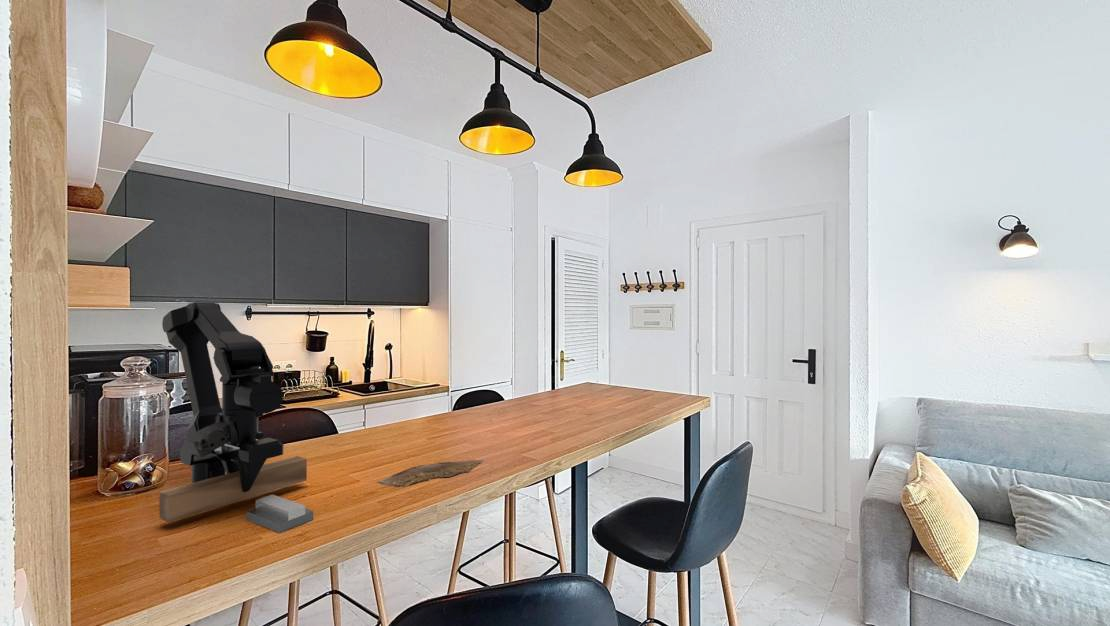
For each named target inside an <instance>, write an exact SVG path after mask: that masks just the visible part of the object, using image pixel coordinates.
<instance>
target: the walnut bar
mask: <svg viewBox="0 0 1110 626" xmlns="http://www.w3.org/2000/svg"><path fill="white" fill-rule="evenodd" d="M307 462H308V460H307V458H305V457H301V456H298V455H296V456H292V457H289V458H284V459H281V460H277V461H272V462H269V463H264V464H263V466H262V468H261V469H260V471H259V473H258V475H257V477H256V479H255V481H254V483H253V485H252V487H251V489H250V490H249V491H247V492H243V491H242V486H241V480H240V472H239V471H237V472H233V473H229V474H225V475H222V476H218V477H214V478H210V479H206V480H202V481H198V482H194V483H192V482H191V483H187V484H184V485H180V486H176V487H172V488H171V487H170V488H168V489H164V490H161V491H159V492H158V494H159V496H158V497H159V501H158V502H159V511H158V512H159V519H161V520H163V521H164V522H166V523H172V522H175V521H178V520H181V519H184V518H188V517H191V516H194V515H198V514H201V513H204V512H207V511H212V510H215V509H217V508H221V507H224V506H227V505H230V504H233V503H238V502H240V501H244V500H247V499H251V498H254V497H257V496H260V495H263V494H266V493H270V492H273V491H277V490H279V489H283V488H286V487H290V486H292V485H296V484H300V483H302V482H303V483H304V482H306V481H307V480H308V479H307V477H308V476H307V475H308V474H307V473H308V472H307V471H308V467H307V466H308V465H307Z"/></svg>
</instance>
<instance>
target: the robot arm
mask: <svg viewBox="0 0 1110 626" xmlns="http://www.w3.org/2000/svg"><path fill="white" fill-rule="evenodd" d="M161 325H162V330H163V332H164V333H166V337H167V341H168V343H169V344H170V345H171V346H172V347H173V348H175V349H176V350H178V351H177V352H180V356H181V360H182V365H183V369H184V376H185V379H186V386H187V391H188V395H189V400H190V405H191V409H192V414H193V417H192V419H191V421H190V423H189V425H188V427H187V429H186V437H184V438H183V439H184V442H183V444H182V445H181V447H180V450H179V458H180V463H182V464H185V465H186V466H188V467H191V483H194V482H198V481H202V480H206V479H210V478H214V477H218V476H222V475H225V474H229V473H233V472H237V471H239V472H240V480H241V486H242V491H243V492H247V491H249V490H250V489H251V487H252V485H253V483H254V481H255V479H256V477H257V475H258V473H259V471H260V469H261V468H262V466H263V465H264V464H266V461H267V459H271V458H275V457H276V458H277V457H279V456H280V457H281V456H283V455H284V446H285V445H284V443H283V442H282V441H280V440H279V439H275V438H272V437H265V438H264V432H262V431H259V418H262V417H264V414H270V413H273V412H274V411H276V410H277V409H278V408H279V407H280V406H281V404H282V402H283V399H284V392H283V390H282V387H281V386H280V384H278V383H277V382H274V381H272V379H273V376H274V371H273V369H274V365H273V363H272V361H271V359H270V357H269V355H268V353H267V351H266V349H265V346H264V345H263V344H262V342H260V340H259V339H257V338H255V337H254V336H252V335H249V334H245V333H242V332H240V331H239V329H237V328H236V326H235V325H234V324H233V322H231V321H230V319H229V318H228V317H227V316H226V315H225V313H223V311H222V309H221V306H220V304H219V303H217V302H215V301H194V302H190V303H188V304H186V305H185V306H182V307H179V308H176V309H172V310H170V311H169V312H167V313H166V314H165V315H164V316H163V318H162V324H161ZM209 342H210V344H211V345H212V346H213V348H214V352H213V362H214V365H215V367H216V368H217V370H218V372H219V373H220V375H221V376H220V378H219V382H221V383H222V385H221V386H222V387H221V390H222V391H221V393H222V395H221V397H222V399H221V400H222V401H221V402H222V403H221V402H220V398H219V393H218V390H217V389H218V388H217V385H216V379H215V374H214V370H213V365H212V361H211V357H210V351H209V348H208V344H209ZM221 404H222V406H221Z"/></svg>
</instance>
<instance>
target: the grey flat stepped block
mask: <svg viewBox="0 0 1110 626" xmlns="http://www.w3.org/2000/svg"><path fill="white" fill-rule="evenodd" d="M246 520H247V521H249V522H251V523H254V524H257V525H258V526H262V527H264V528H266V529H269V530H271V531H274V532H277V533H279V534H281V533H283V532H285V531H288V530H291V529H293V528H296V527H298V526H301V525H304V524H306V523H308V522H312V521H313V520H314V510H311V509H308V508H306V505H304V504H303V503H299V502H297V501H293V500H290V499H287V498H284V497H282V496H278V495H276V494H269V495H266V496H263V497H259V498H257V499H255V508H251V509H249V510H246Z"/></svg>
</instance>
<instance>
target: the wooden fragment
mask: <svg viewBox="0 0 1110 626" xmlns="http://www.w3.org/2000/svg"><path fill="white" fill-rule="evenodd" d="M483 462H484V459H478V460H464V461H451V462H450V461H448V462H447V461H446V462H436V463H429V464H428V463H427V464H420V465H417V466H412V467H410V468H406V469H404V470H402V471H400V472H398V473H395V474H391V475H389V476H388V477H385V478H382V479H379V480H377V482H376V483H377V484H380V485H383V486H387V487H388V486H391V487H397V488H399V487H400V488H405V487H408V486H410V485H413V484H417V483H420V482H425V481H430V480H433V479H434V480H435V479H443V478H448V477H454V476H456V475H458V474H462V473H469V472H471V471H472V470H474V469H475V468H476V467H477V466H478V465H479V464H483Z"/></svg>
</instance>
